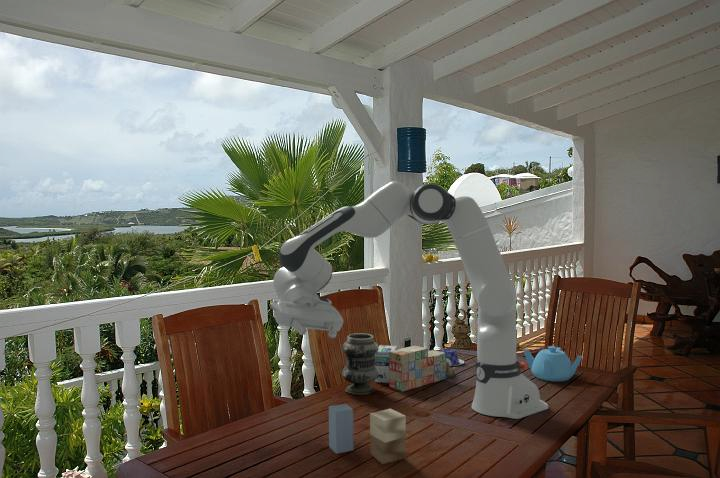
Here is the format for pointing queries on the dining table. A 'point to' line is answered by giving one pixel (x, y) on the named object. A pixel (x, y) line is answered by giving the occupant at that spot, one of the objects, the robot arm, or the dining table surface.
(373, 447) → the tower base
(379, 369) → the light bulb box
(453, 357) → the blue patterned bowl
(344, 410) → the pillar
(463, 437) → the dining table surface
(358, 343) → the apothecary jar
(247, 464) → the dining table surface
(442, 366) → the stack of blocks
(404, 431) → the tower top
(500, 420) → the dining table surface
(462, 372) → the dining table surface
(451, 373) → the eagle figurine
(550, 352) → the teapot
